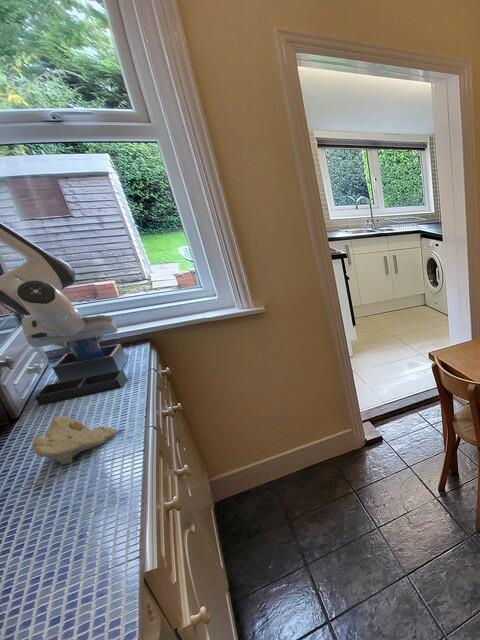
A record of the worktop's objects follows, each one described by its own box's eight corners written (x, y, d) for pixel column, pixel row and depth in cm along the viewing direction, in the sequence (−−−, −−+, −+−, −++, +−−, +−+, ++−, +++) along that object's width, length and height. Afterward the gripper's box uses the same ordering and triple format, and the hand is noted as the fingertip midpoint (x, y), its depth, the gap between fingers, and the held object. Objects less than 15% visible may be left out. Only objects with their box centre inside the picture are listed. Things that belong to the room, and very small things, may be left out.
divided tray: (40, 407, 116) (34, 396, 115) (51, 395, 123) (45, 385, 122) (122, 390, 125) (117, 379, 123) (127, 379, 132) (122, 369, 131)
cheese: (94, 442, 102) (6, 435, 89) (111, 418, 102) (26, 407, 89) (112, 481, 95) (19, 480, 82) (130, 456, 95) (40, 450, 82)
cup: (75, 365, 134) (58, 334, 129) (81, 359, 139) (65, 328, 134) (102, 360, 137) (87, 329, 133) (107, 354, 142) (92, 324, 138)
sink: (61, 384, 131) (51, 367, 128) (74, 369, 142) (65, 353, 139) (120, 372, 138) (112, 355, 135) (127, 359, 149) (120, 343, 146)
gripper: (106, 305, 131) (121, 327, 142) (13, 320, 120) (38, 342, 131) (111, 322, 130) (126, 342, 141) (17, 338, 119) (42, 359, 130)
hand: (83, 342), depth 136 cm, fingers closed on cup, 7 cm apart
